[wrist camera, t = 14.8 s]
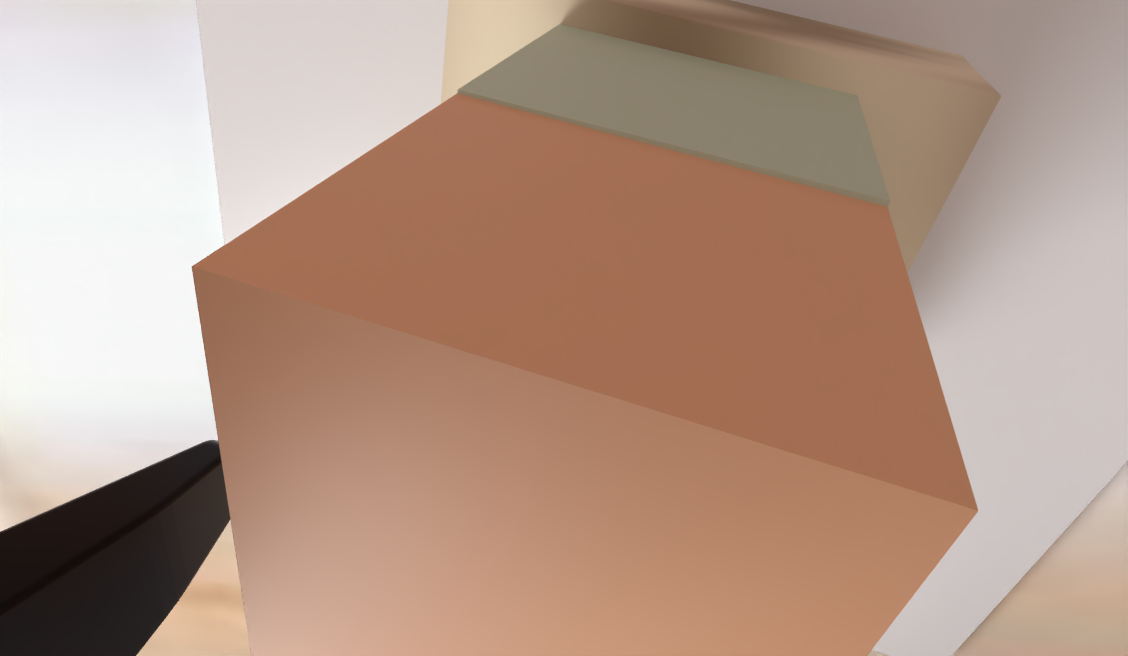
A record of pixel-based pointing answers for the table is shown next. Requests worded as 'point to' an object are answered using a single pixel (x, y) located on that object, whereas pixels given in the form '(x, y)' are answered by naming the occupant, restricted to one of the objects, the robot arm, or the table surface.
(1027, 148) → the baseplate
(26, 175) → the table surface
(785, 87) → the sage block
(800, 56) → the foundation slab
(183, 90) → the table surface
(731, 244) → the terracotta block
